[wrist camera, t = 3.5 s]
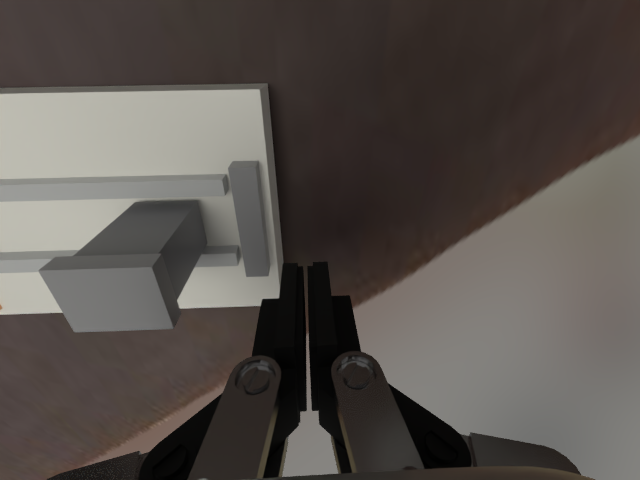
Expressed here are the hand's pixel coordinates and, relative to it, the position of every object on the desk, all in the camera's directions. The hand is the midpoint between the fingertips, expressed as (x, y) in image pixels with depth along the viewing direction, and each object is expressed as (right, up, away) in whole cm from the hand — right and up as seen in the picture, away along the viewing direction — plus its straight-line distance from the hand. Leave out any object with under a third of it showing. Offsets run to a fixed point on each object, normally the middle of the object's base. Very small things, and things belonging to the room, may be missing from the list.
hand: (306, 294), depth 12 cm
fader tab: (-7, +3, +4) cm, 8 cm away
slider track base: (-15, +4, +6) cm, 17 cm away
